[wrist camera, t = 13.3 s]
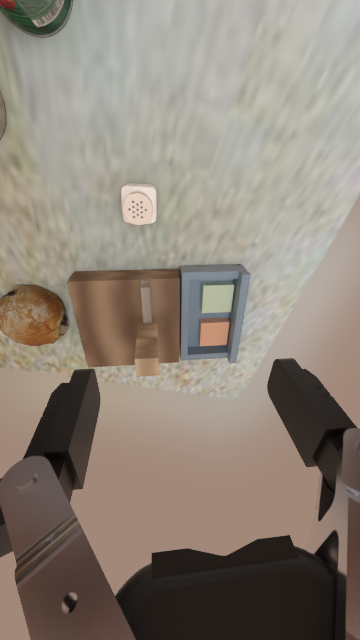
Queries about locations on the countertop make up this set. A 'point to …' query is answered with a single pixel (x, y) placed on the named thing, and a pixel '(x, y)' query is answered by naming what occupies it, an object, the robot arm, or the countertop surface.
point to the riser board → (124, 313)
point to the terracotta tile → (213, 331)
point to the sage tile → (216, 296)
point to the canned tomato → (37, 15)
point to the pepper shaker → (139, 203)
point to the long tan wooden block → (146, 337)
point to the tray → (192, 313)
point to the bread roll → (32, 316)
